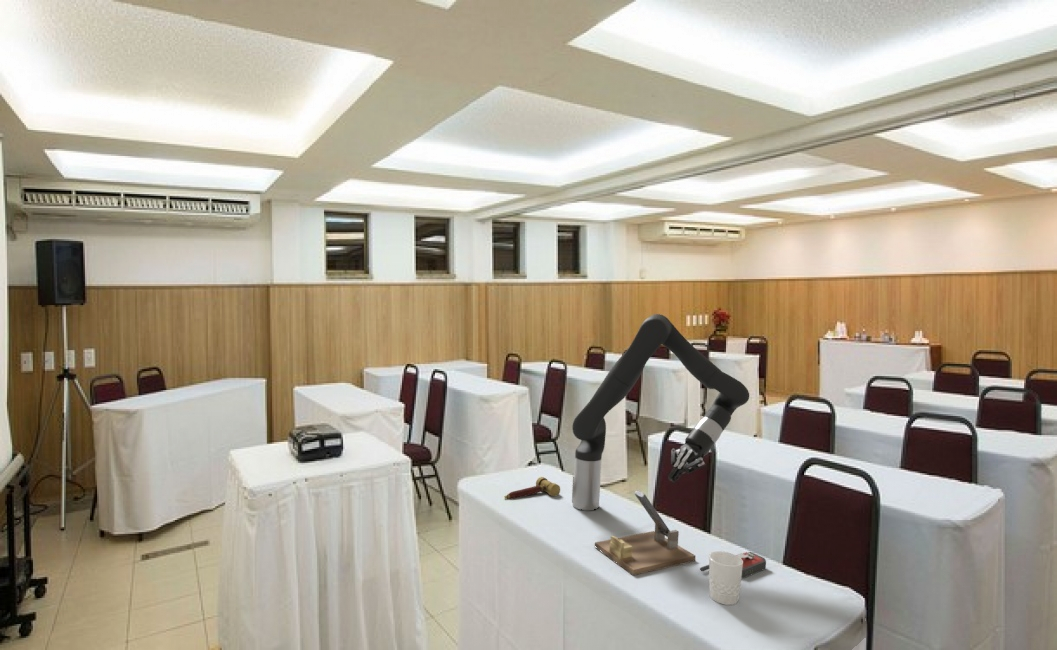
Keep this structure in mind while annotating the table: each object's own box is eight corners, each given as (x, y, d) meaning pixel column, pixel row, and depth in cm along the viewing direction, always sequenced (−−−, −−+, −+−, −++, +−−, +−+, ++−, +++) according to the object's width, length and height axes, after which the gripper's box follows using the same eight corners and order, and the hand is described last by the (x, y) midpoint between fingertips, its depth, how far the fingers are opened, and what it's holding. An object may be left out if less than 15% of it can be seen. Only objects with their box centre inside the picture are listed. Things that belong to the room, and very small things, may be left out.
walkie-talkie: (742, 556, 164) (697, 572, 153) (743, 542, 164) (698, 556, 152) (770, 569, 157) (724, 587, 145) (771, 554, 156) (725, 570, 145)
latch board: (594, 547, 165) (595, 525, 164) (653, 535, 175) (654, 515, 175) (633, 575, 149) (634, 551, 148) (695, 560, 159) (696, 538, 159)
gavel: (511, 495, 197) (497, 486, 205) (511, 508, 197) (498, 499, 206) (560, 483, 208) (545, 475, 216) (560, 495, 208) (545, 487, 217)
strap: (633, 493, 161) (637, 489, 161) (661, 534, 167) (665, 530, 167) (641, 498, 158) (645, 493, 158) (670, 539, 164) (673, 534, 164)
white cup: (722, 609, 134) (725, 568, 134) (700, 592, 141) (702, 553, 141) (747, 603, 137) (750, 563, 137) (724, 587, 144) (726, 549, 144)
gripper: (682, 423, 175) (649, 465, 169) (714, 432, 163) (680, 479, 158) (694, 438, 177) (662, 481, 172) (726, 449, 166) (693, 495, 160)
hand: (670, 480), depth 165 cm, fingers closed
